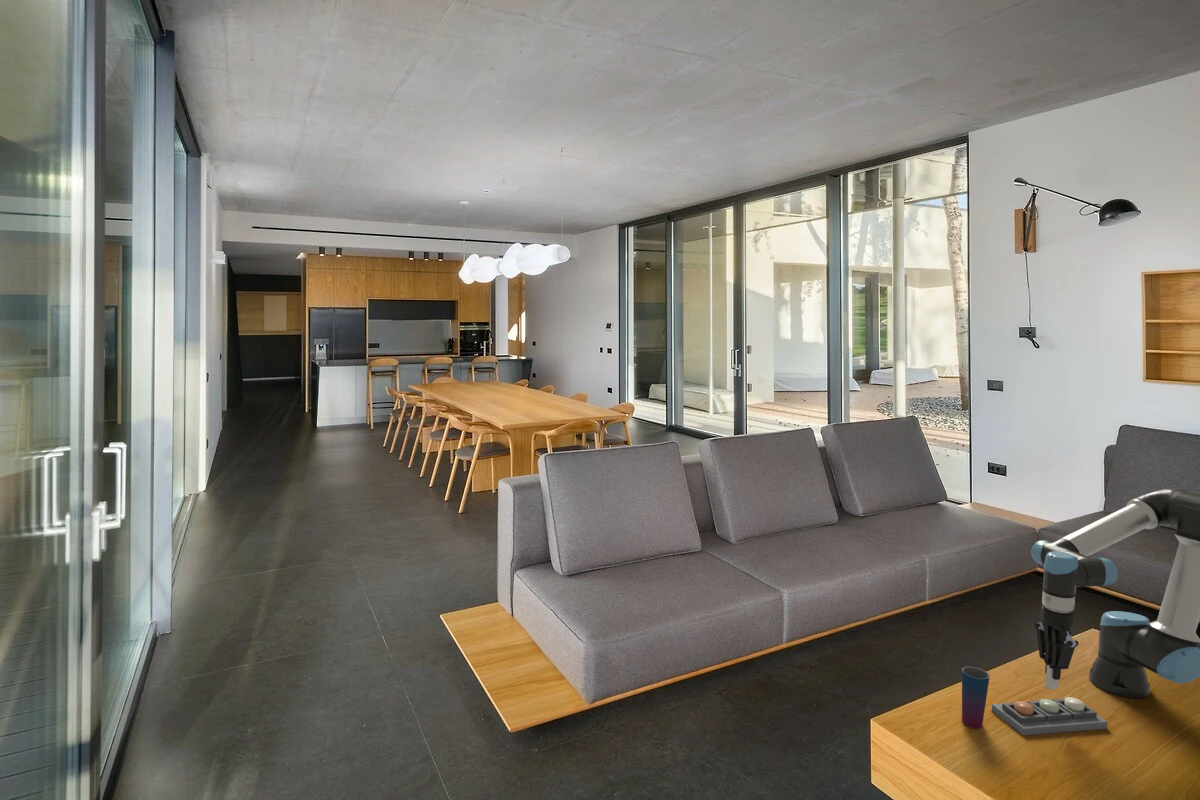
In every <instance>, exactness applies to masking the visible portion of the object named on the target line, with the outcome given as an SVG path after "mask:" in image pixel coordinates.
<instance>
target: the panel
mask: <svg viewBox="0 0 1200 800" xmlns="http://www.w3.org/2000/svg"><path fill="white" fill-rule="evenodd" d="M1051 700H1052V701H1054V702H1056V703H1057V704H1058V705H1059V713H1054V714H1048V713H1046V712H1045V711H1043V710H1042V709H1041V708H1039V705H1040V700H1033V701H1032V700H1031V701H1030V700H1029V701H1026V702H1027V703H1029V704H1031V705H1032V706H1033V707H1034V711H1033V715H1028V716H1022V715H1021V714H1019V713H1018V712H1017V711H1015V710H1014V704H1015V702H1005V703H993V704H991V712H993V713H994V714H995V715H996V716H998V718H1000V719H1001V720H1002V721H1004V722H1005V723H1007V724H1008V725H1009V726H1010V727H1012V728H1013V729H1014V730H1016V731H1017V732H1018V733H1020V735H1022V736H1030V735H1031V736H1032V735H1043V734H1044V735H1046V734H1058V733H1069V732H1071V733H1073V732H1083V731H1095V730H1105V729H1106V730H1107V729H1108V726H1109V725H1108V723H1109V721H1107V720H1106V719H1105V718H1102V717H1101V716H1100V715H1098V712H1097V711H1096V710H1094V709H1092V708H1091V707H1089V706H1088V705H1087V704H1085V705H1084V711H1080V712H1073V711H1072V710H1070V709H1069V708H1067V707H1066V706H1064V703H1065V698H1060V699H1059V698H1057V699H1051Z"/></svg>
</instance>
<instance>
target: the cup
mask: <svg viewBox="0 0 1200 800" xmlns="http://www.w3.org/2000/svg"><path fill="white" fill-rule="evenodd" d="M990 676H991V675H990V673H988V672H987V671H986V670H984V669H982V668H979V667H975V666H964V667H962V668H961V722H962V724H964V725H965V726H966V727H969V728H973V729H980V728H982V727H983V723H984V717H985V709H986V704H987V697H988V690H989V684H990V679H991V678H990Z"/></svg>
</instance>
